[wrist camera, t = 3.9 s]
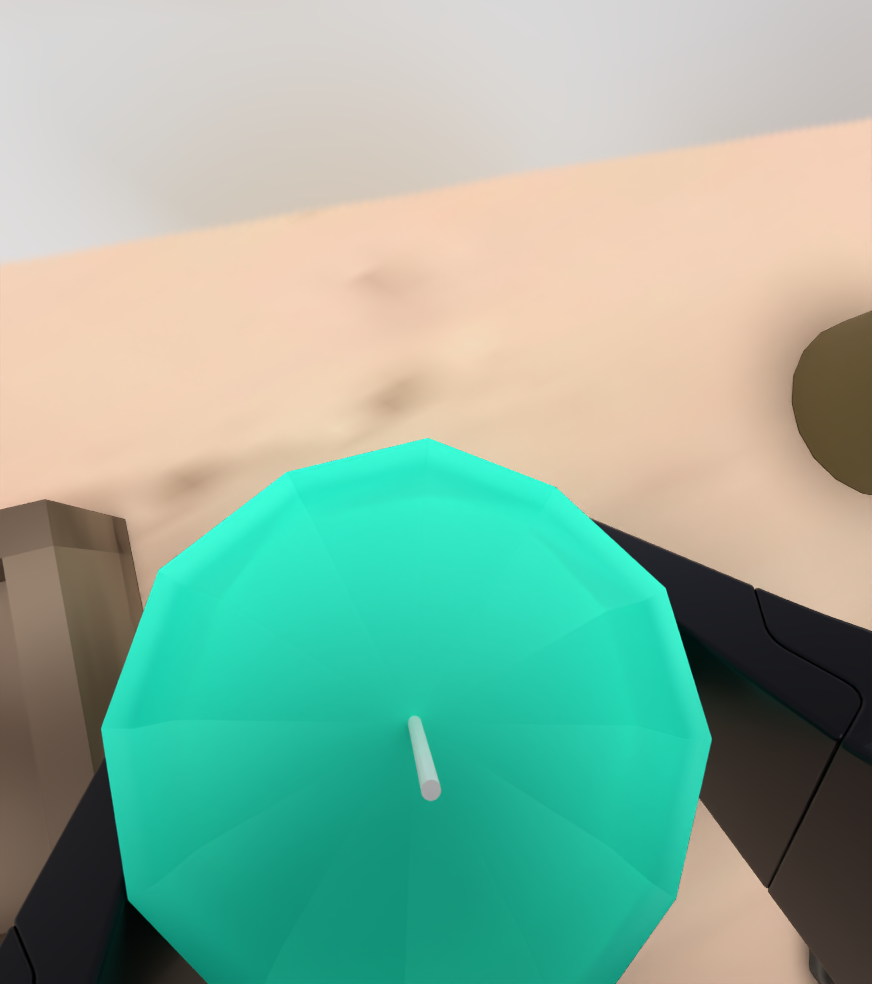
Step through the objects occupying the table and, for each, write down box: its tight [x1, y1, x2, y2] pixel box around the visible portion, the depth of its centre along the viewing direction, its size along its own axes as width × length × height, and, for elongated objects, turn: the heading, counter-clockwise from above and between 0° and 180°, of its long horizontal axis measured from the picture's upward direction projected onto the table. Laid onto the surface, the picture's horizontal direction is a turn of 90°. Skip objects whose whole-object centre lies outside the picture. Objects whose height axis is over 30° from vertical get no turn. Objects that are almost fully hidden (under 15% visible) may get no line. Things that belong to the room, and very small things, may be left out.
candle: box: [101, 438, 712, 984], centre depth 10 cm, size 6×6×12 cm
